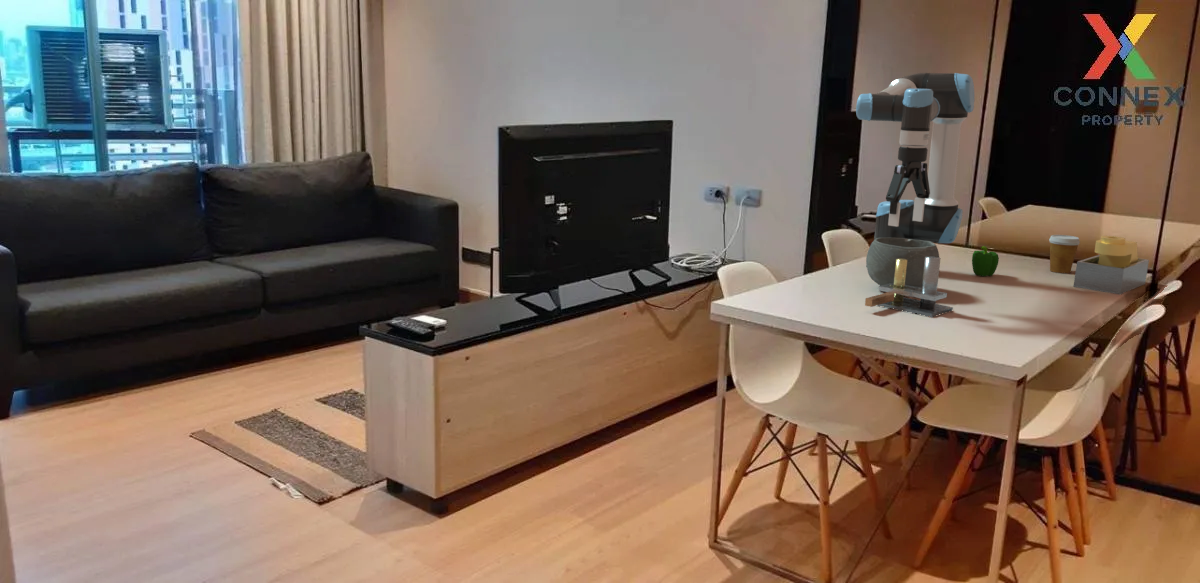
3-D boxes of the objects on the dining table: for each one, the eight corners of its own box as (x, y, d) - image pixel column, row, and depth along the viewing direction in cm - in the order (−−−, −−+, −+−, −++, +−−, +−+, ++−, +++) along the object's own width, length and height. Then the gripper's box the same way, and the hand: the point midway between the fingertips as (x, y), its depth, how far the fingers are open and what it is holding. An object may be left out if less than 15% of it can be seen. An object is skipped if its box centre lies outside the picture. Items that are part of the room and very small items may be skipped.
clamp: (1116, 292, 288) (1124, 241, 285) (1084, 286, 295) (1092, 237, 291) (1137, 283, 302) (1145, 235, 298) (1106, 278, 308) (1114, 231, 305)
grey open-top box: (1073, 286, 294) (1077, 261, 293) (1100, 276, 311) (1103, 253, 309) (1120, 294, 285) (1124, 268, 283) (1145, 284, 301) (1149, 259, 299)
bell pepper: (984, 272, 313) (987, 243, 311) (1001, 277, 305) (1005, 247, 303) (963, 273, 310) (967, 243, 308) (980, 278, 303) (984, 248, 300)
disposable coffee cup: (1081, 272, 317) (1086, 238, 314) (1065, 275, 311) (1070, 240, 309) (1054, 267, 324) (1059, 233, 322) (1039, 270, 319) (1043, 235, 316)
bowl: (860, 293, 276) (865, 244, 273) (866, 280, 295) (870, 233, 292) (935, 301, 269) (941, 250, 266) (936, 287, 288) (942, 239, 285)
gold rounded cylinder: (890, 300, 263) (894, 259, 261) (895, 299, 265) (899, 258, 263) (899, 302, 261) (904, 261, 259) (905, 301, 263) (909, 259, 261)
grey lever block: (854, 310, 255) (859, 256, 252) (894, 298, 270) (900, 248, 267) (913, 323, 243) (919, 267, 240) (952, 310, 258) (958, 257, 255)
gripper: (903, 149, 242) (895, 229, 247) (947, 145, 259) (939, 220, 264) (877, 147, 248) (870, 226, 253) (922, 143, 265) (915, 217, 269)
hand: (905, 223), depth 258 cm, fingers open, 13 cm apart
